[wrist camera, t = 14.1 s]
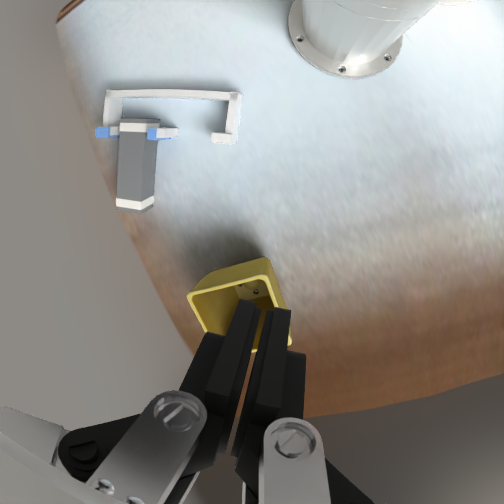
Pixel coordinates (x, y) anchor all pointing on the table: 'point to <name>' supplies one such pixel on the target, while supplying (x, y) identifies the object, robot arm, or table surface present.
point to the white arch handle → (116, 97)
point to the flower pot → (236, 295)
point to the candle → (453, 2)
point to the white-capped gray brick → (136, 165)
